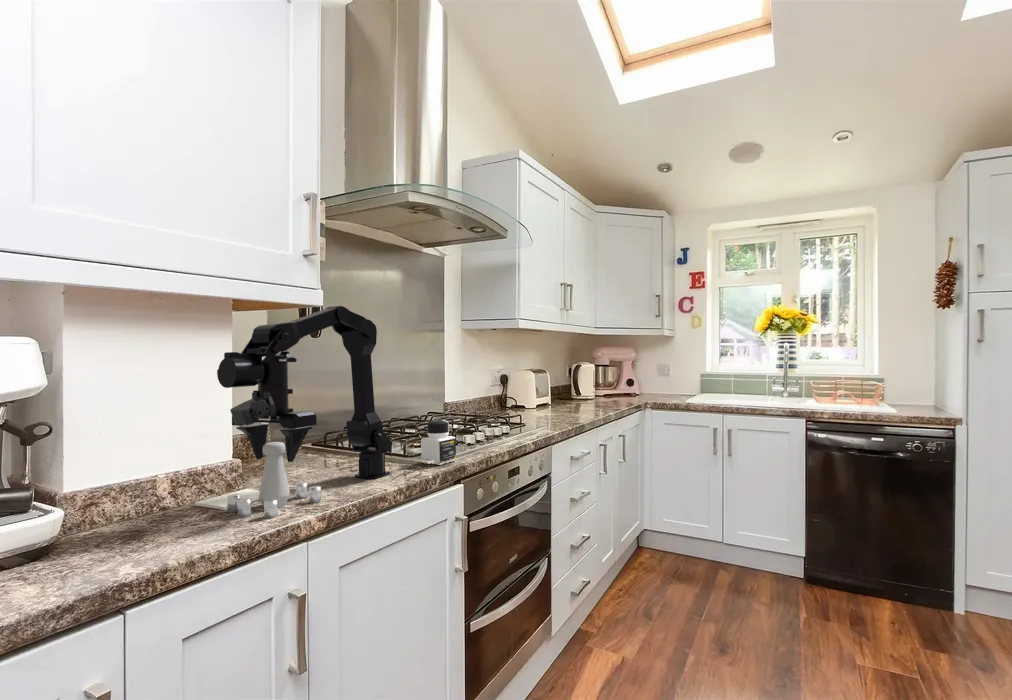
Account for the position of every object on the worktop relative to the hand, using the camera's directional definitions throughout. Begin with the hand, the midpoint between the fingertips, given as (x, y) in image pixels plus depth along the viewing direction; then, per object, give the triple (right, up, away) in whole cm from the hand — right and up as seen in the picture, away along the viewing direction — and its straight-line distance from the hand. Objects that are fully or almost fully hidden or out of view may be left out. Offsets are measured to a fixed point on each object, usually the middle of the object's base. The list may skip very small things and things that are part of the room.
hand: (274, 460), depth 106 cm
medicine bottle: (+29, -10, +40) cm, 50 cm away
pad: (-11, -10, +5) cm, 15 cm away
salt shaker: (0, -10, 0) cm, 10 cm away
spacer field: (0, -9, 0) cm, 9 cm away
